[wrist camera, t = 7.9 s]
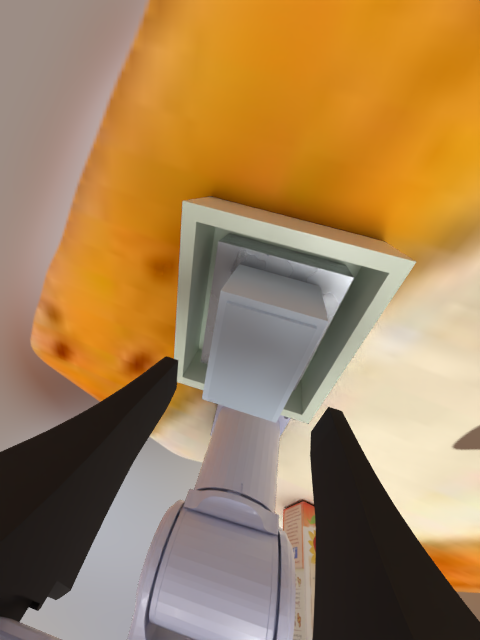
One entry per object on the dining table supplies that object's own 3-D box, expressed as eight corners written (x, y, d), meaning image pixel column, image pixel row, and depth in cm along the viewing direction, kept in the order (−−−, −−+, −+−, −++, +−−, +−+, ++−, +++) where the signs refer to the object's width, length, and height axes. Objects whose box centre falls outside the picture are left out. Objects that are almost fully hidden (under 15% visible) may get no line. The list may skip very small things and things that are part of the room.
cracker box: (281, 508, 37) (269, 797, 20) (302, 498, 34) (311, 835, 16) (352, 542, 38) (401, 845, 21) (379, 535, 35) (465, 890, 17)
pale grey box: (279, 377, 18) (275, 426, 14) (219, 358, 18) (200, 402, 14) (320, 286, 13) (329, 324, 10) (239, 263, 13) (219, 292, 10)
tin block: (294, 369, 20) (294, 391, 18) (210, 343, 21) (200, 362, 18) (345, 264, 15) (353, 277, 12) (228, 233, 15) (218, 240, 13)
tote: (306, 382, 22) (308, 423, 18) (193, 347, 22) (172, 380, 19) (384, 241, 14) (416, 261, 10) (211, 196, 15) (182, 200, 11)
